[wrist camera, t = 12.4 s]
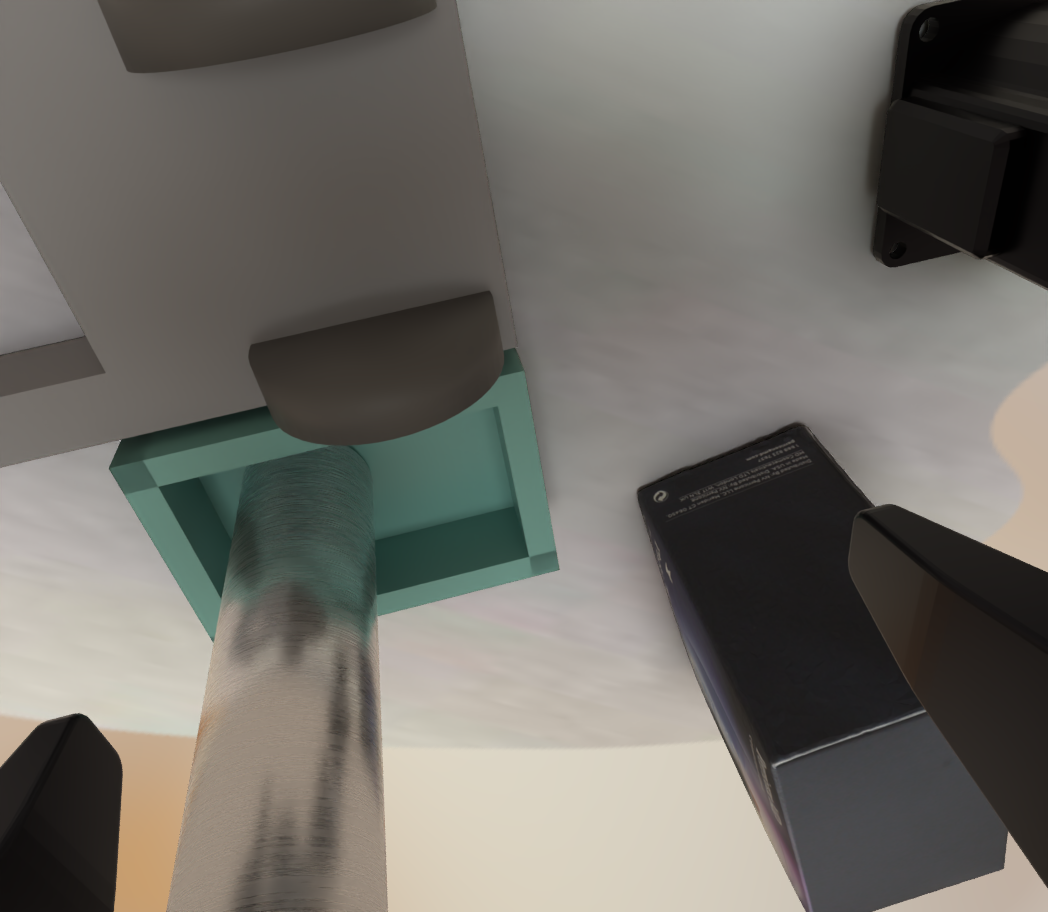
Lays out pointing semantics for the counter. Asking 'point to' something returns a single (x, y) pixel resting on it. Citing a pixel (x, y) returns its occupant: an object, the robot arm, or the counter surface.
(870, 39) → the counter surface
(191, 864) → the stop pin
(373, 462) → the tray
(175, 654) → the counter surface
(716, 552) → the small box
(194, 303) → the socket plate with bumps
